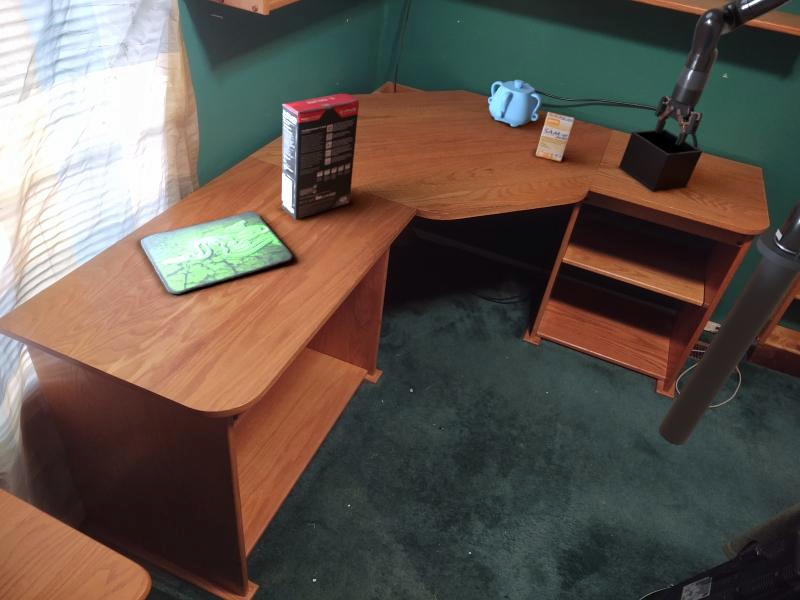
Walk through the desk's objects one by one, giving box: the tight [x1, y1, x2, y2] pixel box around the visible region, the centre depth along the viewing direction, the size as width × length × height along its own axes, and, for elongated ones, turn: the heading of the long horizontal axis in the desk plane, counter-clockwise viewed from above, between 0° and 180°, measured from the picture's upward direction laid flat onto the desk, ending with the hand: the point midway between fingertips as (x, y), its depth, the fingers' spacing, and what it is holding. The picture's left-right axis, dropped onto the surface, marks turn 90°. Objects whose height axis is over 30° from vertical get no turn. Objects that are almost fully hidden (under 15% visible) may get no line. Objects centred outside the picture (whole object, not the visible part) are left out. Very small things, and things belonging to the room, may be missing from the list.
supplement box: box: [535, 111, 575, 163], centre depth 184 cm, size 8×5×13 cm, turn 73°
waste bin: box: [618, 128, 703, 193], centre depth 181 cm, size 16×14×12 cm
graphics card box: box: [281, 92, 360, 220], centre depth 141 cm, size 17×7×27 cm, turn 131°
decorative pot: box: [487, 79, 543, 128], centre depth 204 cm, size 16×16×14 cm
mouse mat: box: [140, 211, 293, 295], centre depth 130 cm, size 27×22×1 cm
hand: (668, 138), depth 177 cm, fingers open, 8 cm apart
